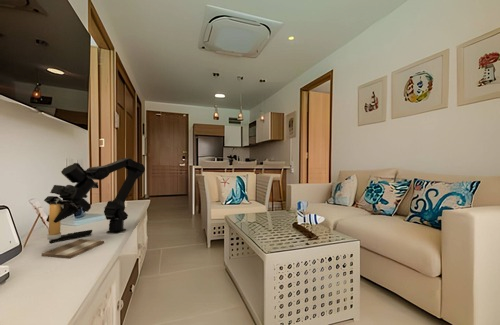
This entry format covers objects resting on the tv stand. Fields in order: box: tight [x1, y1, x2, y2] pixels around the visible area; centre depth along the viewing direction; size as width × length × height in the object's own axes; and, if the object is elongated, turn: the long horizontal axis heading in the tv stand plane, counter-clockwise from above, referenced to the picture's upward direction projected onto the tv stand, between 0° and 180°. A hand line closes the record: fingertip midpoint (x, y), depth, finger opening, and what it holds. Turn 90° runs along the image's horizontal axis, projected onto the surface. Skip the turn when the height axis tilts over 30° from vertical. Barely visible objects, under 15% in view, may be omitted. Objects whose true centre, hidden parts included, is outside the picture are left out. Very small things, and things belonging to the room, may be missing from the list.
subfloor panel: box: [40, 238, 105, 259], centre depth 88 cm, size 16×12×1 cm
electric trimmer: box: [48, 229, 93, 244], centre depth 100 cm, size 4×16×3 cm, turn 137°
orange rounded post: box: [46, 204, 62, 241], centre depth 84 cm, size 4×4×13 cm
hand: (50, 221), depth 83 cm, fingers closed on orange rounded post, 3 cm apart
